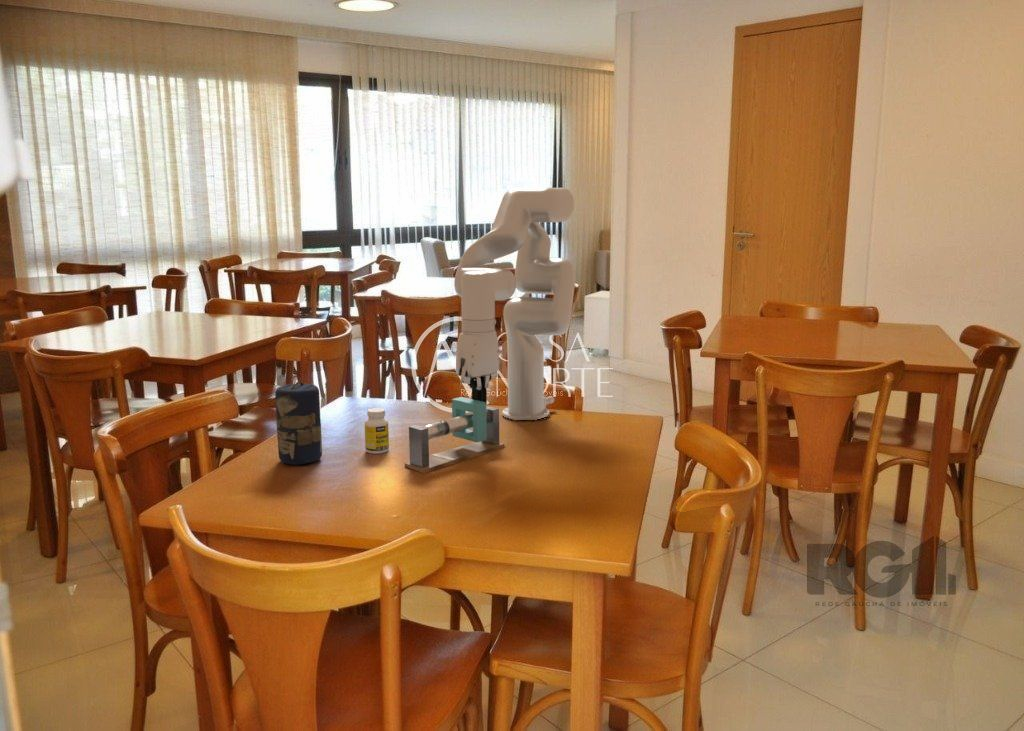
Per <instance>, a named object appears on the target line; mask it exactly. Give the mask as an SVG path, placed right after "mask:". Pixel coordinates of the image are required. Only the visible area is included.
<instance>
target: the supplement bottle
mask: <svg viewBox="0 0 1024 731" xmlns="http://www.w3.org/2000/svg"><path fill="white" fill-rule="evenodd" d="M366 411H367V413H366V414H367V418H366V419H365V420H364V445H365V446H364V447H365V451H366V453H368V454H374V455H379V454H385V453H387V452H388V451H389V449H390V440H389V439H390V437H389V420H388V419H387V418H386V417H385V416H386V409H385V408H382V407H373V408H369V409H367V410H366Z"/></svg>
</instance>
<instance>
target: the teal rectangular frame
mask: <svg viewBox="0 0 1024 731" xmlns="http://www.w3.org/2000/svg"><path fill="white" fill-rule="evenodd" d="M486 406H487V405H486V402H482V401H478V400H473V399H472V398H468V397H463V396H460V397H455V398H452V399H451V418H455V417H458V416H462V415H466V414H467V413H466V412H469V413H473V427H472V430H471V429H470V428H468V429H465V430H461V431H458V432H454V433H452V437H455V438H459V439H463V440H467V441H471V442H472V443H473V442H481V441H484V440H487V430H486Z"/></svg>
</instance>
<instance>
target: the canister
mask: <svg viewBox="0 0 1024 731" xmlns="http://www.w3.org/2000/svg"><path fill="white" fill-rule="evenodd" d="M274 393H275V395H274V396H275V398H274V399H275V416H276V418H275V420H276V434H277V435H276V437H277V447H278V448H277V450H278V451H277V452H278V458H279V460H280V462H282V463H285V464H287V465H306V464H311V463H314V462H317V461H318V460H320V459H321V458H322V456H323V440H322V439H323V436H322V423H321V422H322V421H321V406H320V405H321V402H320V401H321V400H320V389H319V387H318V386H317V385H316V384H311V383H304V382H301V381H297V382H295V383H288V384H285V385H284V384H283V385H281V386H278V387H277V388H276V389H275V392H274Z"/></svg>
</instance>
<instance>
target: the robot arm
mask: <svg viewBox="0 0 1024 731" xmlns="http://www.w3.org/2000/svg"><path fill="white" fill-rule="evenodd" d="M498 207H499V208H498V209H497V213H496V215H495V217H494V221H493V224H492V227H491V229H490V231H489V232H487V233H485V234H484V235H482V236H480V237H479V238H478V239H477V240H476V241H475V242H473V243H472V244H471V245H470V246H469V247H468V248H467V249H466V250H465V251H464V252H463V254H462V256H461V258H460V261H459V263H458V265H457V269H456V272H455V276H454V290H455V293H456V294H457V295H458V296H459V297H460V298H461V299H460V300H461V303H460V304H461V305H460V306H461V332H459V334H458V338H457V345H456V352H455V354H456V358H455V372H456V375H457V376H460V383H461V384H467V385H468V386H469V388H470V389H471V399H473V400H478V401H482V402H486V406H488V404H487V399H488V398H487V396H488V394H487V391H488V390H487V389H488V388H489V386H490V382H491V380H492V379H494V378H496V377H497V375H498V374H497V373H498V372H499V369H500V348H499V339H498V335H497V334H498V333H497V330H496V324H497V320H496V307H495V306H496V301H501V302H502V301H507V300H508V301H507V302H506V303H505V305H504V307H503V311H502V312H503V321H504V327H505V333H506V334H505V335H506V343H507V345H506V346H507V347H506V348H507V407H505V408H504V409H503V410H501V411H502V412H501V414H502V415H503V416H504V417H503V416H502V417H503V418H505V417H506V418H505V419H507V418H509V419H508V420H510V419H514V420H513V421H516V420H535V421H538V420H537V419H541V418H543V417H546V416H547V415H548V414H549V415H550V410H549V409H548V408H547V407H546V406H547V405H550V404H553V403H554V402H555V397H554V396H553V395H551V396H550V395H549V396H547V397H546V396H544V390H545V388H544V385H545V384H544V382H545V380H544V376H545V375H544V369H545V368H544V366H545V364H544V359H545V354H544V348H543V346H542V343H541V342H540V340H539V338H538V337H537V336H536V335H538V336H539V335H540V336H543V335H544V336H563V335H565V334H566V333H567V331H568V330H569V328H570V324H571V319H572V311H573V303H574V302H573V301H574V294H575V288H576V287H575V286H576V271H575V267H574V265H573V263H572V262H571V260H570V259H568V258H565V257H564V258H562V257H550V256H551V247H552V240H551V238H550V236H549V234H548V232H547V230H545V228H544V227H543V226H542V225H541V223H561V222H566V221H568V220H569V219H571V217H572V215H573V212H574V209H575V200H574V196H573V193H572V192H571V191H570V190H569V189H568V188H566V187H544V186H543V187H542V186H541V187H515V188H511V189H508V190H507V191H506V192H505V193H504V194H503V196H502V198H501V201H500V203H499V206H498ZM516 252H517V254H516V255H517V256H516V262H515V270H514V273H513V272H512V271H511V270H509V269H507V268H504V267H485V266H484V265H486V264H487V263H489V262H492V261H494V260H496V259H500V258H503V257H506V256H509V255H511V254H513V253H516ZM516 289H517V291H519V292H520V293H524V294H531V295H532V294H534V295H553V298H552V297H551V298H550V297H533V296H532V297H531V296H518V297H513V298H512V296H513V295H514V294H515V291H516ZM510 298H511V299H510ZM541 420H542V419H541Z"/></svg>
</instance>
